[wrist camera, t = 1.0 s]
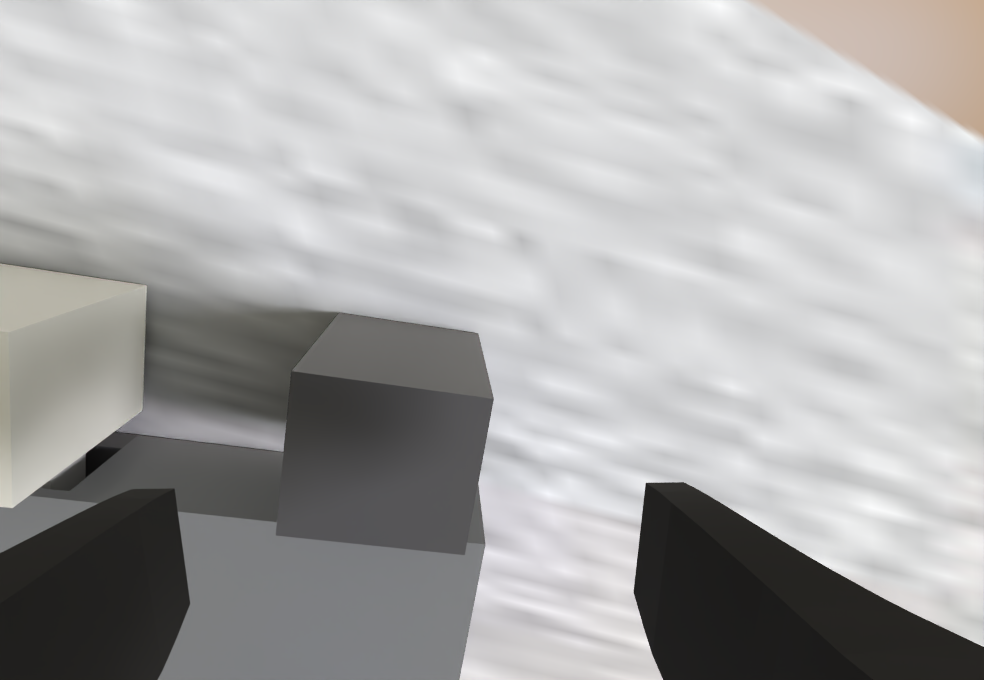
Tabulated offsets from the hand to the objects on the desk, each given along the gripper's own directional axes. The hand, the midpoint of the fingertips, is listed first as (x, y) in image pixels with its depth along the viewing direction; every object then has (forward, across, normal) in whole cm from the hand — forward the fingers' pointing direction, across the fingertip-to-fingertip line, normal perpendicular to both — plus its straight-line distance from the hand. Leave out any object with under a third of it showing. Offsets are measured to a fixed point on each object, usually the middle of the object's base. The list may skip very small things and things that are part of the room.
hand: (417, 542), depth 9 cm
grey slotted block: (+10, +12, +3) cm, 16 cm away
